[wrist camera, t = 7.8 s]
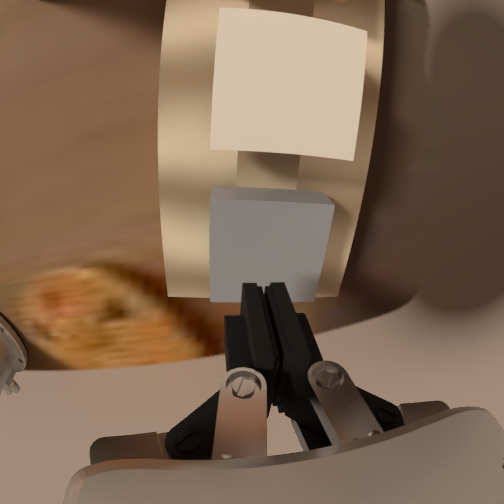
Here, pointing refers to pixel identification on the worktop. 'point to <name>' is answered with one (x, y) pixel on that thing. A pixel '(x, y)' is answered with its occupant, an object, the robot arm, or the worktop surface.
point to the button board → (248, 162)
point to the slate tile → (267, 240)
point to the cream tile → (286, 84)
